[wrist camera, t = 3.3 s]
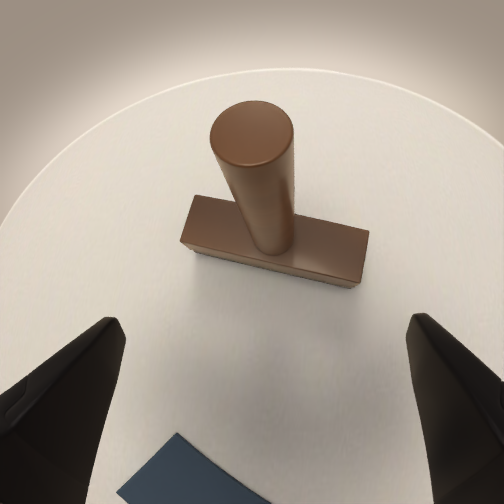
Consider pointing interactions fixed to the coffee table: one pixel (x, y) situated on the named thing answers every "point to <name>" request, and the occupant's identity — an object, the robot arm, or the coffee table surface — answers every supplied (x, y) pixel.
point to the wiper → (268, 205)
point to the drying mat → (184, 480)
